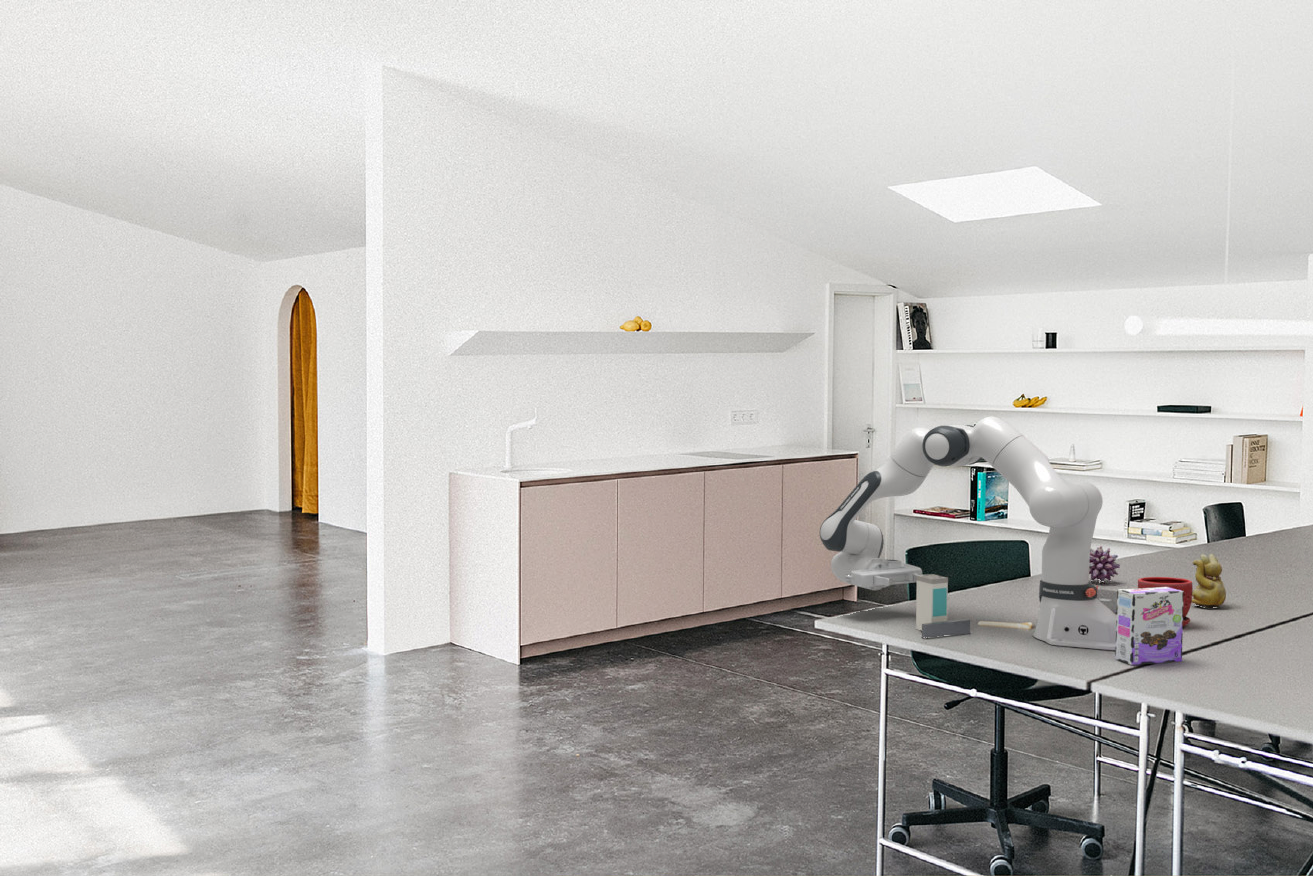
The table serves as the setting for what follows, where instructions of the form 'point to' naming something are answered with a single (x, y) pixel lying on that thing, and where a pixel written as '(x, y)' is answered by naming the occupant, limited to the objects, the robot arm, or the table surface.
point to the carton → (931, 599)
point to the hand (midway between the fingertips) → (904, 580)
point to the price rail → (946, 628)
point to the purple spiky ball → (1102, 564)
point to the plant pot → (1175, 584)
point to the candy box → (1149, 625)
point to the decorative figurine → (1208, 583)
